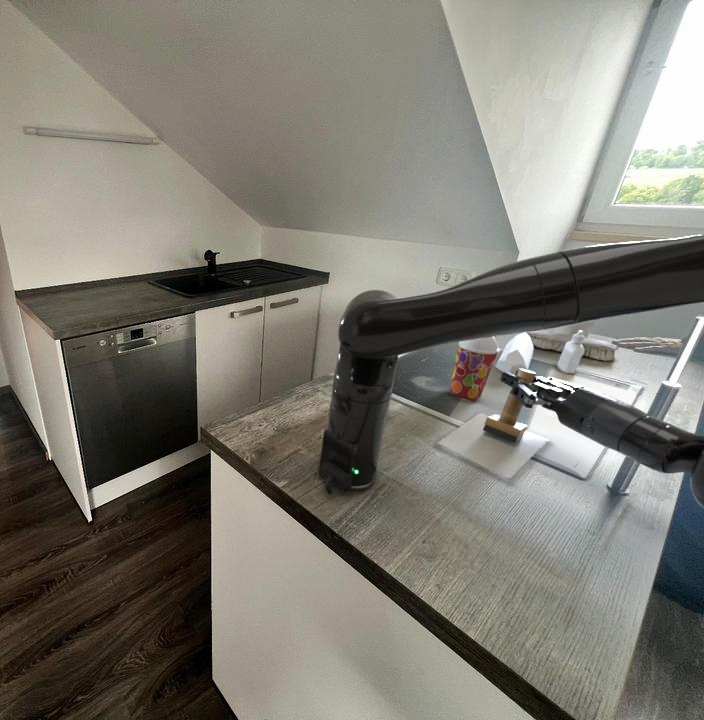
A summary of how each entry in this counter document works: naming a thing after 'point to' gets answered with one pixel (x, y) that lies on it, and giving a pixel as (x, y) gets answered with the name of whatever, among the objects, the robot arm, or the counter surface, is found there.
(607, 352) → the shoe brush
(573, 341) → the eye dropper bottle
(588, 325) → the travel mug
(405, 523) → the counter surface
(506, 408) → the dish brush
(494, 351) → the smoothie
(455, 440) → the tile
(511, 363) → the crystal
